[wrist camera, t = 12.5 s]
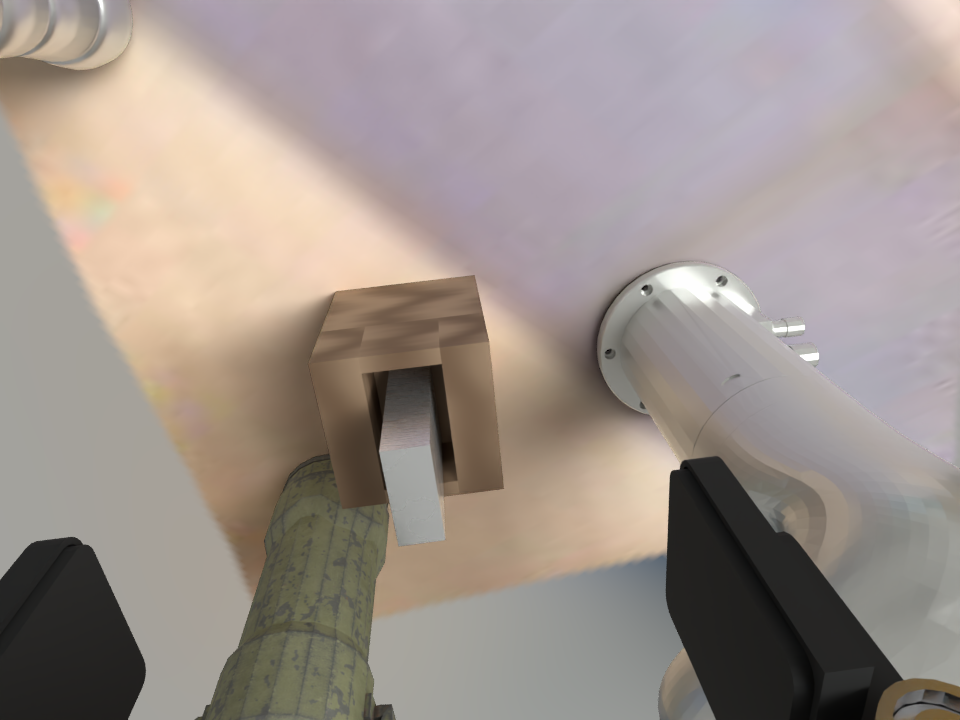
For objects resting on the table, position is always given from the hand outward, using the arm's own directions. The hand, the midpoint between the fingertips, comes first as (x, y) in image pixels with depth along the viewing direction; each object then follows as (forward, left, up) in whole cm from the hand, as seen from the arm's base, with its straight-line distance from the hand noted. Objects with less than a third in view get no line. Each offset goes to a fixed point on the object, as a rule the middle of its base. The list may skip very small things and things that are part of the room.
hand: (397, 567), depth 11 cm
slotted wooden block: (+2, +12, -36) cm, 38 cm away
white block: (+2, +13, -29) cm, 32 cm away
